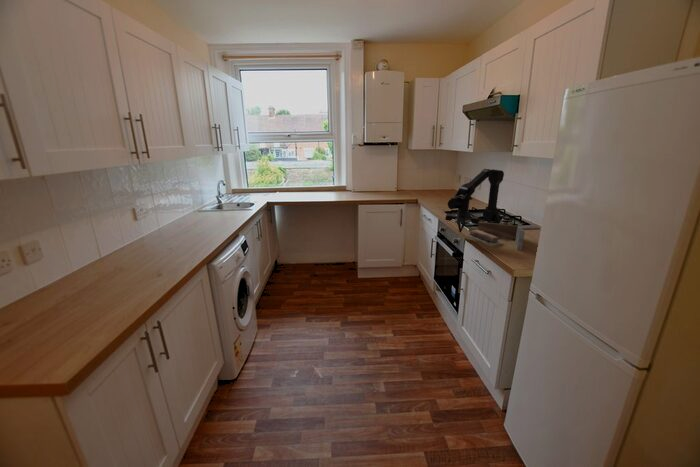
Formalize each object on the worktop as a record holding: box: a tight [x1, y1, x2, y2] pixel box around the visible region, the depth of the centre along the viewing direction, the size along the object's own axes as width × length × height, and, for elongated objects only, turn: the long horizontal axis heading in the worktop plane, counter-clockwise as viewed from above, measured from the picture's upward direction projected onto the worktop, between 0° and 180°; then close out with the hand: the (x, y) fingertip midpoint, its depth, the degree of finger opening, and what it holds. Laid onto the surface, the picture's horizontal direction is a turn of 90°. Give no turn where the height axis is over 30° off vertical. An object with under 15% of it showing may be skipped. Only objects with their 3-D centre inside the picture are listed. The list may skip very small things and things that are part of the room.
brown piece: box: [477, 221, 526, 251], centre depth 177 cm, size 21×24×10 cm
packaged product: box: [467, 228, 503, 247], centre depth 180 cm, size 18×5×10 cm
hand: (460, 232), depth 184 cm, fingers closed
